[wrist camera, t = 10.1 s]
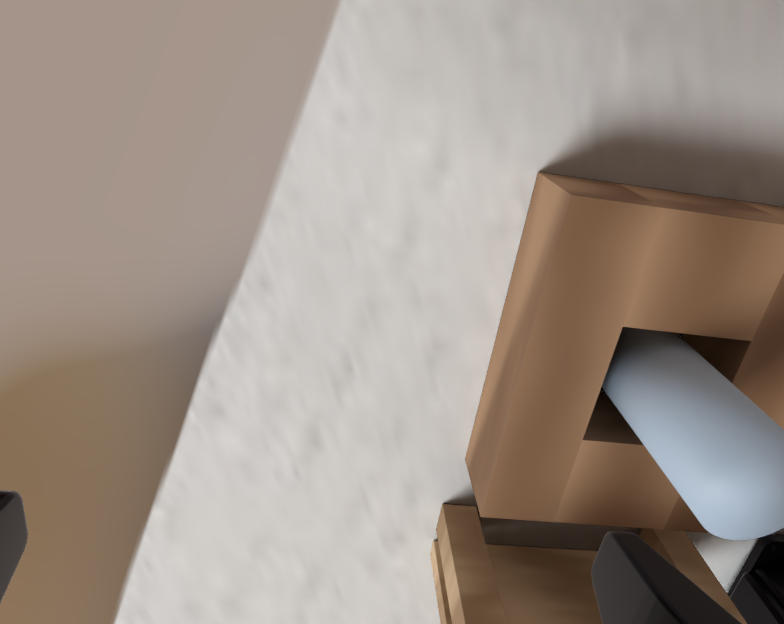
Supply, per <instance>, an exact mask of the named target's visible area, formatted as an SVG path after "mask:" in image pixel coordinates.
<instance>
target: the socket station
mask: <svg viewBox="0 0 784 624" xmlns="http://www.w3.org/2000/svg"><path fill="white" fill-rule="evenodd" d="M623 327H630V328H639V329H648V330H657V331H666V332H675V333H684V334H683V336H682V339H683V340H684V341H685V342H686V343H687V344H688V345H690V346H691V347H692V348H693V349H694V350H695V351H696V352H697V353H699V354H700V355H701V356H702V357H703V358H704V359H705V360H706V361H708V362H709V363H710V364H711V365H712V366H713V367H714V368H715V369H716V370H718V371H719V372H720V373H721V374H722V375H723V376H724V377H725V378H727V379H728V380H729V381H730V382H731V383H732V384H733V385H734V386H736V387H737V388H738V389H739V390H740V391H741V392H742V393H743V394H745V395H746V396H747V397H748V398H749V399H750V400H751V401H752V402H753V403H755V404H756V405H757V406H758V407H759V408H760V409H761V410H762V411H764V412H765V413H766V414H767V415H768V416H769V417H770V418H771V419H773V420H774V421H775V422H776V423H777V424H778V425H779V426H780V427H782V428H783V429H784V207H779V206H772V205H765V204H758V203H751V202H744V201H737V200H730V199H723V198H716V197H709V196H702V195H695V194H688V193H681V192H674V191H667V190H660V189H653V188H646V187H639V186H632V185H625V184H618V183H611V182H604V181H597V180H590V179H583V178H576V177H569V176H562V175H555V174H548V173H541V172H538V174H537V178H536V182H535V186H534V190H533V194H532V198H531V202H530V206H529V210H528V214H527V217H526V221H525V225H524V229H523V233H522V237H521V241H520V245H519V249H518V253H517V257H516V261H515V265H514V269H513V273H512V277H511V281H510V284H509V288H508V292H507V296H506V300H505V304H504V308H503V312H502V316H501V320H500V324H499V328H498V332H497V336H496V340H495V344H494V348H493V352H492V355H491V359H490V363H489V367H488V371H487V375H486V379H485V383H484V387H483V391H482V395H481V399H480V403H479V407H478V411H477V415H476V419H475V423H474V426H473V430H472V434H471V438H470V442H469V446H468V450H467V454H466V458H465V461H466V465H467V468H468V472H469V476H470V480H471V483H472V487H473V491H474V495H475V498H476V502H477V506H478V510H479V513H480V517H487V518H501V519H516V520H530V521H545V522H560V523H574V524H589V525H604V526H618V527H633V528H642V530H641V532H640V534H639V537H640V538H641V539H642V540H643V541H645V542H646V543H647V544H648V545H649V546H651V547H652V548H653V549H654V550H655V551H657V552H658V553H659V554H660V555H661V556H662V557H664V558H665V559H666V560H667V561H668V562H670V563H671V564H672V565H673V566H674V567H676V568H677V569H678V570H679V571H680V572H681V573H683V574H684V575H685V576H686V577H687V578H689V579H690V580H691V581H692V582H693V583H695V584H696V585H697V586H698V587H699V588H700V589H702V590H703V591H704V592H705V593H706V594H708V595H709V596H710V597H711V598H712V599H714V600H715V601H716V602H717V603H718V604H719V605H721V606H722V607H723V608H724V609H725V610H727V611H728V612H729V613H730V614H731V615H733V616H734V617H735V618H736V619H737V620H738V621H740V622H741V623H742V624H747V623H746V621H745V620H744V618H743V617H742V615H741V614H740V612H739V611H738V609H737V608H736V606H735V605H734V603H733V602H732V600H731V599H730V598H729V596H728V595H727V593H726V592H725V590H724V589H723V587H722V586H721V584H720V583H719V581H718V580H717V578H716V577H715V575H714V574H713V572H712V571H711V570H710V568H709V567H708V565H707V564H706V562H705V561H704V559H703V558H702V556H701V555H700V553H699V552H698V550H697V549H696V547H695V546H694V544H693V543H692V542H691V540H690V539H689V537H688V536H687V534H686V533H685V531H691V532H706V533H710V532H708V531H707V530H706V529H705V528H704V527H703V526H702V525H701V523H700V522H699V520H698V519H697V518H696V516H695V515H694V514H693V512H692V511H691V509H690V508H689V507H688V505H687V504H686V503H685V501H684V500H683V498H682V497H681V496H680V494H679V493H678V491H677V490H676V489H675V487H674V486H673V485H672V483H671V482H670V480H669V479H668V478H667V476H666V475H665V474H664V472H663V471H662V469H661V468H660V467H659V465H658V464H657V463H656V461H655V460H654V458H653V457H652V456H651V454H650V453H649V452H648V450H647V449H646V447H645V446H644V445H643V443H642V442H641V441H640V439H639V438H638V436H637V435H636V434H635V432H634V431H633V429H632V428H631V427H630V425H629V424H628V423H627V421H626V420H625V418H624V417H623V416H622V414H621V413H620V412H619V410H618V409H617V407H616V406H615V405H614V403H613V402H612V401H611V399H610V398H609V396H608V395H607V394H599V392H600V390H601V387H602V384H603V381H604V378H605V376H606V373H607V370H608V367H609V364H610V361H611V359H612V356H613V353H614V350H615V347H616V345H617V342H618V339H619V336H620V333H621V331H622V328H623ZM436 531H437V537H438V541H433V545H432V549H431V553H430V554H431V561H432V568H433V575H434V581H435V588H436V595H437V601H438V608H439V615H440V622H441V624H602V620H601V615H600V611H599V607H598V603H597V599H596V595H595V591H594V587H593V583H592V576H591V571H592V565H593V562H594V560H595V558H596V555H597V553H598V551H587V550H571V549H555V548H540V547H524V546H508V545H492V544H486V543H485V539H484V535H483V531H482V528H481V524H480V520H479V516H478V512H477V509H476V506H465V505H451V504H442V508H441V512H440V516H439V520H438V524H437V528H436Z"/></svg>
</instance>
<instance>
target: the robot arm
mask: <svg viewBox="0 0 784 624" xmlns="http://www.w3.org/2000/svg"><path fill="white" fill-rule="evenodd" d="M27 537H28V531H27V524H26V519H25V513H24V506H23V501H22V497H21V495H20V494H19V493H18V492H15V491H6V490H0V603H1V600H2V598H3V596H4V594H5V591H6V589H7V587H8V585H9V583H10V581H11V578H12V576H13V574H14V572H15V570H16V567H17V565H18V563H19V560H20V558H21V556H22V554H23V552H24V549H25V546H26V543H27ZM591 576H592V583H593V587H594V591H595V595H596V599H597V603H598V607H599V611H600V615H601V620H602V624H742V623H741V622H740V621H738V620H737V619H736V618H735V617H734V616H733V615H731V614H730V613H729V612H728V611H727V610H725V609H724V608H723V607H722V606H721V605H719V604H718V603H717V602H716V601H715V600H714V599H712V598H711V597H710V596H709V595H708V594H706V593H705V592H704V591H703V590H702V589H700V588H699V587H698V586H697V585H696V584H695V583H693V582H692V581H691V580H690V579H689V578H687V577H686V576H685V575H684V574H683V573H681V572H680V571H679V570H678V569H677V568H676V567H674V566H673V565H672V564H671V563H670V562H668V561H667V560H666V559H665V558H664V557H662V556H661V555H660V554H659V553H658V552H657V551H655V550H654V549H653V548H652V547H651V546H649V545H648V544H647V543H646V542H645V541H643V540H642V539H641V538H640V537H639V536H637V535H636V534H634V533H632V532H625V531H609V532H608V533H606V534H605V536H604V538H603V541H602V543H601V545H600V548H599V550H598V553H597V555H596V558H595V560H594V562H593V565H592V571H591ZM728 596H729V598H730V599H731V600H732V602H733V603H734V605H735V606H736V608H737V609H738V611H739V612H740V614H741V615H742V617H743V618H744V620H745V621H746V623H747V624H784V535H773V534H771V535H766V536H764V537H762V538H761V539H760V540H759V541H758V542H757V544H756V546H755V548H754V549H753V551H752V553H751V555H750V556H749V558H748V560H747V562H746V563H745V565H744V567H743V569H742V570H741V572H740V574H739V576H738V578H737V579H736V581H735V583H734V585H733V586H732V588H731V590H730V592H729V593H728Z"/></svg>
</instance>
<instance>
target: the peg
mask: <svg viewBox="0 0 784 624" xmlns="http://www.w3.org/2000/svg"><path fill="white" fill-rule="evenodd" d="M602 388H603V390H604V391H605V392H606V394H607V395H608V396H609V398H610V399H611V401H612V402H613V403H614V405H615V406H616V407H617V409H618V410H619V412H620V413H621V414H622V416H623V417H624V418H625V420H626V421H627V423H628V424H629V425H630V427H631V428H632V429H633V431H634V432H635V434H636V435H637V436H638V438H639V439H640V441H641V442H642V443H643V445H644V446H645V447H646V449H647V450H648V452H649V453H650V454H651V456H652V457H653V458H654V460H655V461H656V463H657V464H658V465H659V467H660V468H661V469H662V471H663V472H664V474H665V475H666V476H667V478H668V479H669V480H670V482H671V483H672V485H673V486H674V487H675V489H676V490H677V491H678V493H679V494H680V496H681V497H682V498H683V500H684V501H685V503H686V504H687V505H688V507H689V508H690V509H691V511H692V512H693V514H694V515H695V516H696V518H697V519H698V520H699V522H700V523H701V525H702V526H703V527H704V528H705V529H706V530H707V531H708V532H710V533H711V534H713V535H715V536H717V537H720V538H724V539H729V540H749V539H755V538H759V537H763V536H766V535H769V534H772V533H774V532H776V531H778V530H780V529H782V528H784V429H783V428H782V427H780V426H779V425H778V424H777V423H776V422H775V421H774V420H773V419H771V418H770V417H769V416H768V415H767V414H766V413H765V412H764V411H762V410H761V409H760V408H759V407H758V406H757V405H756V404H755V403H753V402H752V401H751V400H750V399H749V398H748V397H747V396H746V395H745V394H743V393H742V392H741V391H740V390H739V389H738V388H737V387H736V386H734V385H733V384H732V383H731V382H730V381H729V380H728V379H727V378H725V377H724V376H723V375H722V374H721V373H720V372H719V371H718V370H716V369H715V368H714V367H713V366H712V365H711V364H710V363H709V362H708V361H706V360H705V359H704V358H703V357H702V356H701V355H700V354H699V353H697V352H696V351H695V350H694V349H693V348H692V347H691V346H690V345H688V344H687V343H686V342H685V341H684V340H683V339H682V338H681V337H679V336H678V335H677V334H676V333H675V332H666V331H657V330H648V329H639V328H630V327H623V328H622V331H621V333H620V336H619V339H618V342H617V345H616V347H615V350H614V353H613V356H612V359H611V361H610V364H609V367H608V370H607V373H606V376H605V378H604V381H603V384H602Z"/></svg>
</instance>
